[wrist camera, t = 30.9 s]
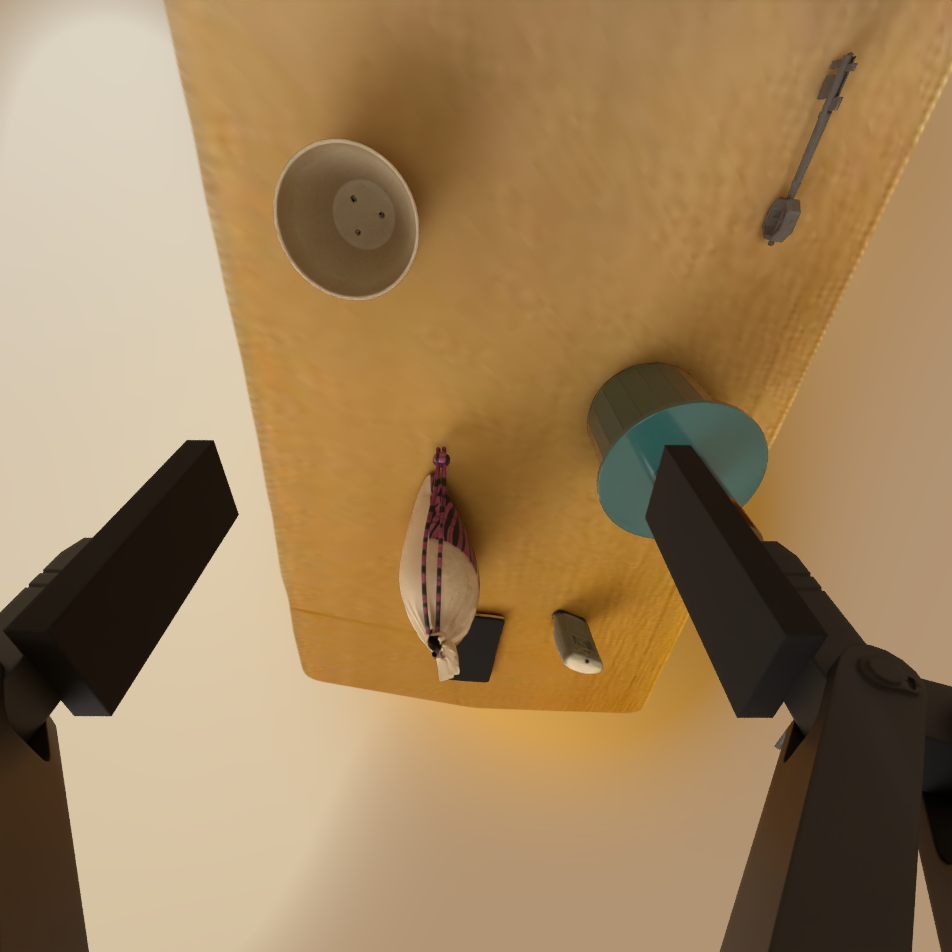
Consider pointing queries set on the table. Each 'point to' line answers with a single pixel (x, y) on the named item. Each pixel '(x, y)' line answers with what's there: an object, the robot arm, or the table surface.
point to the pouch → (439, 572)
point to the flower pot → (346, 219)
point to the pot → (637, 399)
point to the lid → (681, 423)
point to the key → (807, 155)
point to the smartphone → (479, 648)
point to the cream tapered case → (575, 643)
